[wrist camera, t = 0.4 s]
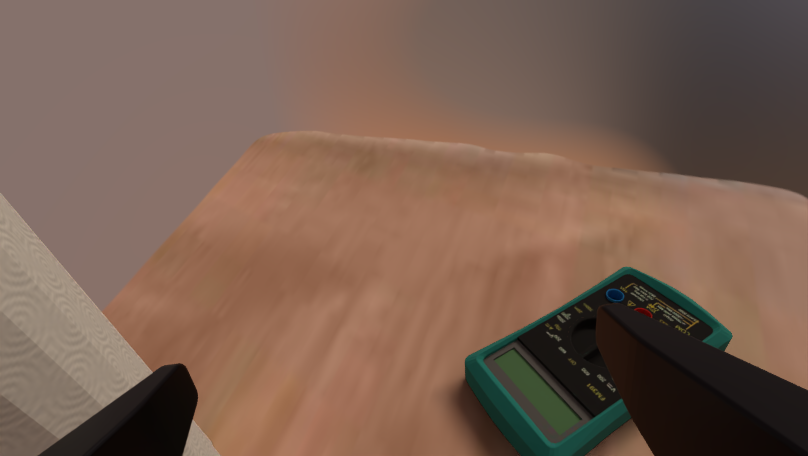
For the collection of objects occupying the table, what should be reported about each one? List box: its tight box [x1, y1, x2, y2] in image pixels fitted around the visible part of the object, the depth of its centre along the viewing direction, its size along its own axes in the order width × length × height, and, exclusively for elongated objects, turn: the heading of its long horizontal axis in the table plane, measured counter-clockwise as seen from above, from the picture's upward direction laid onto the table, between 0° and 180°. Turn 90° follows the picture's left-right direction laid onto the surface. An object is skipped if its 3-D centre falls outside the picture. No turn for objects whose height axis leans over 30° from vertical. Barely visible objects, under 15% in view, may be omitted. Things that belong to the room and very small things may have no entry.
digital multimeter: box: [465, 267, 733, 456], centre depth 25 cm, size 7×15×3 cm, turn 119°
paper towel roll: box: [0, 193, 221, 456], centre depth 14 cm, size 7×6×21 cm
